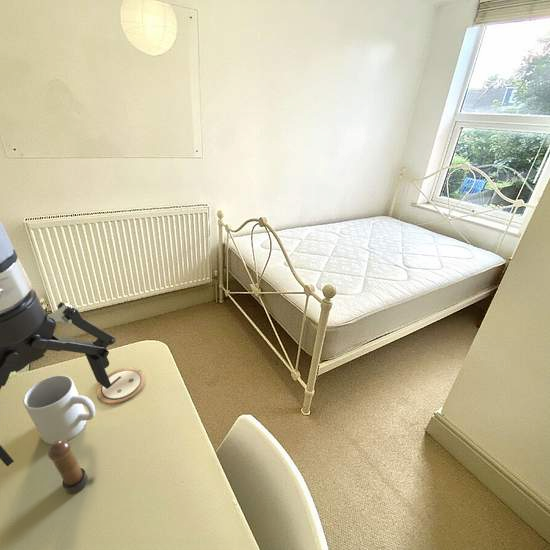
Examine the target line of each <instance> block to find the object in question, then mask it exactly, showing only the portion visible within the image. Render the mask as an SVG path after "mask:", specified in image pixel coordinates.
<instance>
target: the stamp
mask: <svg viewBox="0 0 550 550" xmlns="http://www.w3.org/2000/svg"><path fill="white" fill-rule="evenodd" d="M47 457H48V459H49V460H50V461H51V462H52V463H53V464H54V466H55V469H56V470H57V472H58V473H59V476H60V477H61V479H62V483H61V484H62V487H63V489H64V491H65V492H66V493H67V494H68V495H76V494H78V493H79V492H81V491H82V490H83V489H84V488H86V486H87V484H88V481H89V477H88V474H87V472H86V470H85V469H84V468H82V467H81V466H80V464H79V463H78V460H77V458H76V456H75V455H74V451H73V450H72V444H71V443H70V441H69V440H68V441H67V440H58V441H56V442H54V443H53V444H50V446H49V448H48V450H47Z"/></svg>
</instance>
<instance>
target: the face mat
mask: <svg viewBox="0 0 550 550" xmlns="http://www.w3.org/2000/svg"><path fill="white" fill-rule="evenodd" d="M107 376H108V378H109V381H110V383H111V386H110V387H109V388H108V389H106V388H105V387H104V386H103V385H101V384H100V383H98V385H97V388H96V395H97V398H98V399H99V401H101V402H102V403H105V404H109V405H117V404H121V403H124V402H127V401H129V400H131V399H134V397H136V396H137V395H138V394H139V393H140V392H141V391H142V390H143V388H144V387H145V385H146V380H147V379H146V375H145V373H144V372H143V371H142V370H141V369H139V368H137V367H123V368H119V369H116V370H114V371H112V372H110V373H109V374H107Z"/></svg>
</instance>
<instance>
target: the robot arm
mask: <svg viewBox="0 0 550 550" xmlns="http://www.w3.org/2000/svg"><path fill="white" fill-rule="evenodd" d="M32 285H33V284H32V282H31V280H30V277H29V276H28V274H27V272H26V271H25V269H24V266H23V264H22V262H21V261H20V259H19V256H18V254H17V252H16V250H15V247H14V246H13V243H12V241H11V239H10V238H9V235H8V233H7V230H6V228H5V226H4V224H3V223H2V220H1V219H0V390H1V389H2V387H4V386H6V385H7V382H8V380H9V378H10V375H11V373H13V372H15V373H18V372H20V371H22V370H24V369H25V368H26V367H27V366H28V365H30V364H31V363H33V362H35V361H38V360H40V359H42V358H44V357H45V354H46V353H47V352H48V351H53V352H62V351H64V352H71V353H79V354H84V355H85V358H86V359H87V362H88V364H89V366H90V369H91V371H92V373H93V375H94V379H95V380H96V382H97V383H98V384H101V385H103V386H104V387H105V388H106V389H108V388H109V387H110V386H111V383H110V381H109V378H108V376H107V375H108V373H107V370H106V369H107V368H108V367H109V366H110V361H109V358H108V356H109V354H110V352H109V350H108V349H107V348H108V347H109V346H112V345H114V344H115V342H116V337H114V336H113V335H111V334H109V333H108V332H106V331H105V330H103V329H102V328H100V327H98V326H97V325H95V324H93V323H92V322H90V321H88V320H87V319H85V318H83V317H82V315H81V314H80V312H79V310H78V309H77V308H76V307H74V306H73V305H71V304H70V303H68V302H66V301H61V302H59V303H58V304H57V309H56V310H55V311H52V312H51V313H49V314H47V313H46V311H45V308H44V306H43V304H42V302H41V300H40V299H39V296H38V294H37V292H36V291H35V289H34V288H32ZM57 323H62V324H64V325H67V324H68V325H71V324H72V325H74V326H75V327H77V328H78V329H79V330H81V331H84V332H86V333H87V334H89V335H91V336H92V337H94V338H96V340H90V339H84V338H83V339H82V338H78V337H74V336H73V337H72V336H68V335H61V334H57V333H55V330H56V328H57ZM0 460H1V461H2V462H3V464H4V465H5V466H6V467H9V466H10V465H12V464H13V463H14V462H15V460H14V459H13V458H12V456H10V454H9V453H8V452H7V451H6V450H5V448H4V447H3V446H2V445H1V444H0Z"/></svg>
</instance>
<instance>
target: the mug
mask: <svg viewBox="0 0 550 550" xmlns="http://www.w3.org/2000/svg"><path fill="white" fill-rule="evenodd" d="M22 403H23V406H24V408H25V410H26V412H27V413H28V415H29V417H30V419H31V421H32V422H33V425H34V426H35V428H36V430H37V432H38V434H39V436H40V438H41V439H42V441H43V442H45V443H46V444H50V445H52V444H53V443H54V442H56V441H58V440H67V441H68V442H69V440H71V439H73V438H74V437H76V436H77V435H78V434H80V432H81V431H82V430H83V429H84V427H85V426H86V424H87V421H91V420H93V419H94V418H95V416H96V414H97V413H96V406H95V404H94V402H93V401H92V399H91V398H89V397H88V396H86V395H85V396H84V395H81V394H80V395H79V392H78V390H77V388H76V385H75V383H74V381H73V379H72V378H71V377H69V376H67V375H64V374H63V375H60V374H59V375H58V374H57V375H52V376H49V377H46V378H43V379H41V380H40V381H38V382H36V383H35V384H34V385H33V386H31V387H30V388H29V389H28V390H27V391H26V392H25V394H24V396H23V401H22ZM85 407H86V408H85ZM86 409H87V410H88V412H87V411H86Z"/></svg>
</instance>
